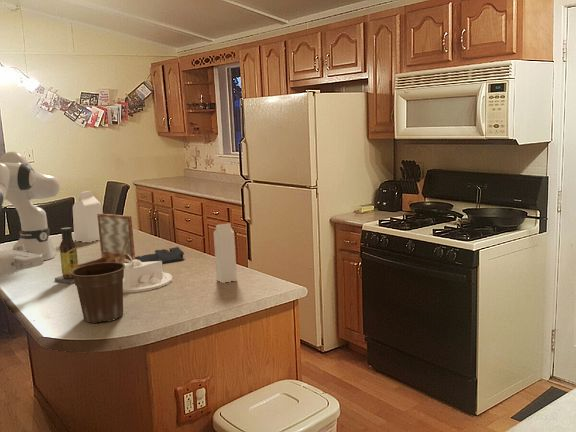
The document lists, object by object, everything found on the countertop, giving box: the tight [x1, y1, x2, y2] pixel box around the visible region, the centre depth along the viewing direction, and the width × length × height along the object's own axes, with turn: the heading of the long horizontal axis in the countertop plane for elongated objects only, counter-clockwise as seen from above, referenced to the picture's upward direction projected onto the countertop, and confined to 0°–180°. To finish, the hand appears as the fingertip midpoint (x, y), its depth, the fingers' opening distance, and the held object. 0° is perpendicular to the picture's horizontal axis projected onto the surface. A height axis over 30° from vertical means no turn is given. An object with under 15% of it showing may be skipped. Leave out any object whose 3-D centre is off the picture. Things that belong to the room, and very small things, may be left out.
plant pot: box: [71, 262, 125, 324], centre depth 179 cm, size 16×16×16 cm
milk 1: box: [72, 190, 104, 243], centre depth 299 cm, size 12×12×26 cm
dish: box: [123, 254, 173, 294], centre depth 217 cm, size 25×25×11 cm
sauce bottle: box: [59, 227, 79, 278], centre depth 223 cm, size 6×6×20 cm
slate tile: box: [54, 275, 75, 285], centre depth 226 cm, size 10×10×1 cm
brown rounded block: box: [115, 256, 126, 264], centre depth 239 cm, size 4×4×5 cm
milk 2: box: [213, 222, 238, 284], centre depth 213 cm, size 6×6×22 cm
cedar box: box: [78, 213, 136, 267], centre depth 237 cm, size 20×18×22 cm
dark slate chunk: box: [135, 246, 186, 265], centre depth 250 cm, size 15×22×5 cm
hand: (38, 253), depth 214 cm, fingers open, 8 cm apart
